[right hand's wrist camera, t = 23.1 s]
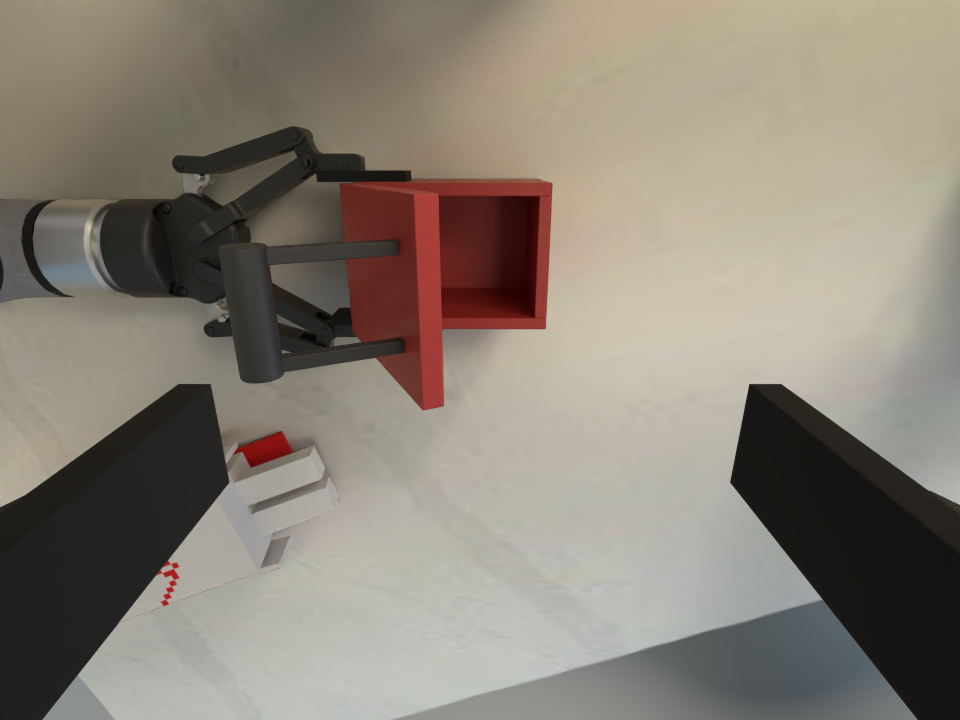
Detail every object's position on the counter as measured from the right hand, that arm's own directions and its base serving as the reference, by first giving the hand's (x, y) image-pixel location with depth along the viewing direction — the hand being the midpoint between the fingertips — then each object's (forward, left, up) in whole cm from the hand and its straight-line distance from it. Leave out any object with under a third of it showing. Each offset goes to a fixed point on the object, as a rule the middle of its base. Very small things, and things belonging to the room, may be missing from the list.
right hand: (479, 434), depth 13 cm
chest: (+1, -1, -36) cm, 36 cm away
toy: (+38, -10, -37) cm, 54 cm away
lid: (+3, -4, -19) cm, 19 cm away
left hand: (+3, -4, -30) cm, 30 cm away
